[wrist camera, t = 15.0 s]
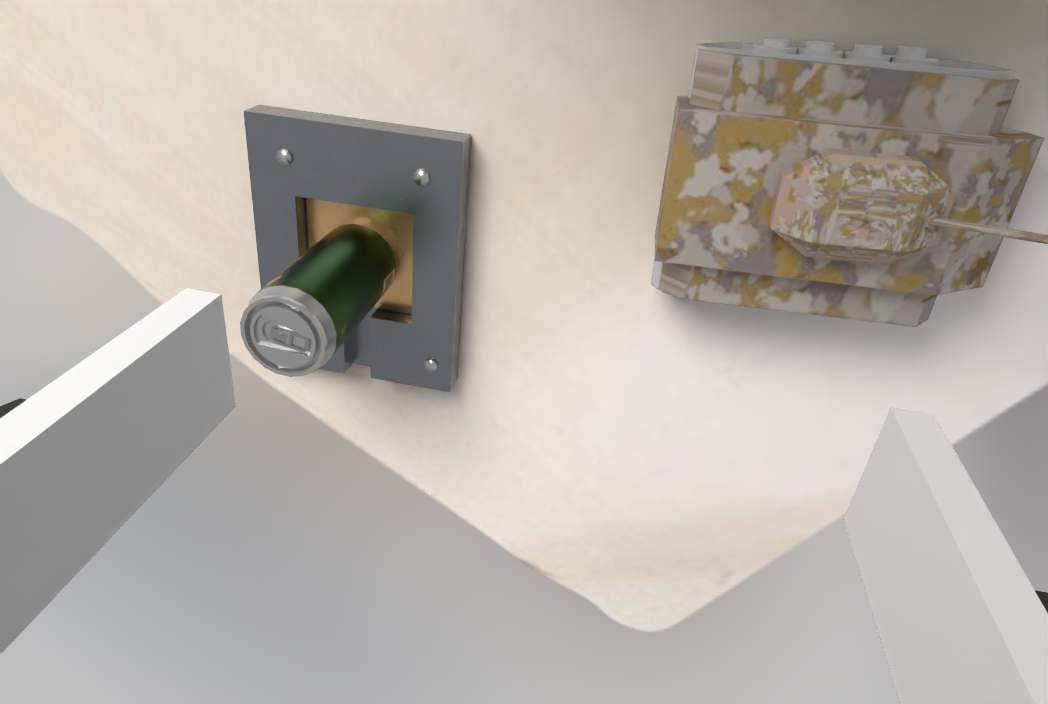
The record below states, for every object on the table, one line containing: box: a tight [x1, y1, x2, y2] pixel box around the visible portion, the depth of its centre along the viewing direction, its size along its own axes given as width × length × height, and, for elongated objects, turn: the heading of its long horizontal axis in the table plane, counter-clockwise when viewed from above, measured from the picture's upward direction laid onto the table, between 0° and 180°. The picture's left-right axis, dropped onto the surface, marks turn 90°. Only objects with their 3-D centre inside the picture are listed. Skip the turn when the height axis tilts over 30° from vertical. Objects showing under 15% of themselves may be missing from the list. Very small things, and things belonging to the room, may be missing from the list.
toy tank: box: [651, 37, 1048, 327], centre depth 38 cm, size 15×20×10 cm
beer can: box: [240, 224, 397, 377], centre depth 45 cm, size 5×5×12 cm
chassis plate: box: [244, 105, 471, 392], centre depth 49 cm, size 18×14×2 cm
